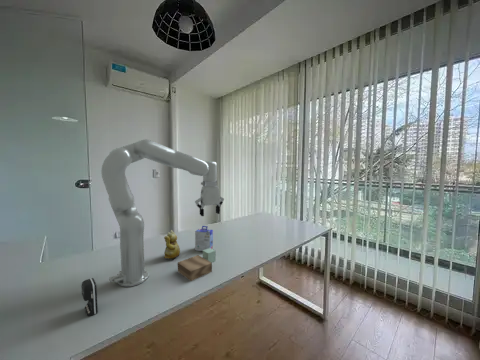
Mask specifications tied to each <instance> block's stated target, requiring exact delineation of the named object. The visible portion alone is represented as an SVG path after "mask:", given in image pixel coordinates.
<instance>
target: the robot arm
mask: <svg viewBox="0 0 480 360" xmlns="http://www.w3.org/2000/svg"><path fill="white" fill-rule="evenodd" d="M144 159H147V160H149V161H153V162H155V163H158V164H161V165H163V166H165V167H166V166H167V167H169V168H173V169H177V170H178V169H179V170H183V171H186V172H188V174H191V175H192V176H199V177H202V181H201V182H200V185H201V186H202V187H201V190H200V197H199V198H198V199H196V200H194V203H195V205H196V206H197V208H198V209H199V215H200V216H201V217H204V216H205V209H204V208H205V206H206V207H207V206H214V205H216V206H215V213H216V214H218V215H219V214H220V213H221V206H222V205H223V202H224V200H225V198H224V197H222V196H220V195H221V193H220V187H219V186H218V179H217V178H218V165H217V162H216V161H210V160H209V161H206V160H205V161H204V160H202V159H200V158H197V157H195V156H192V155H189V154H186V153H183V152H181V151H178V150H176V149H173V148H170V147H169V146H165V145H164V144H161V143H159V142H156V141H154V140H151V139H148V138H144V139H141V140H138V141H136V142H133V143H130V144H127V145H124V146H121V147H116V148H115V149H112V150H111V151H110V152H109V154H108V155H107V156H106V157H105V159H104V160H103V163H102V165H101V170H100V172H101V173H100V174H101V178H102V181H103V184H104V187H105V190H106V193H107V195H108V201H109V204H110V206H111V208H112V209H111V210H112V211H113V214H114V216H115V219H116V222H117V224H118V226H119V243H120V244H119V249H120V250H119V251H120V267H121V268H120V269H121V270H119V271H118V273H117V274H116V275H113V276H110V277H109V278H108V280H109V282H110V283H112V282H114V283H117V284H118V285H119V286H120V287H133V286H137V285H141V284H142V283H144V282H146V281H147V279H148V278H149V272H148V271H146V270H145V248H144V247H145V246H144V245H145V243H144V242H145V241H144V234H145V233H144V231H145V220H144V218H143V216H142V215H141V214H140V212H139V211H138V209H137V206H136V204H135V197H134V194H133V193H132V190H131V188H130V185H129V182H128V179H127V177H126V169H127V168H128V167H129V166H130V165H132V164H133V163H135V162H138V161H141V160H144ZM220 215H221V214H220Z"/></svg>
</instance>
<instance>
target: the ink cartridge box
mask: <svg viewBox="0 0 480 360" xmlns="http://www.w3.org/2000/svg"><path fill="white" fill-rule="evenodd" d="M194 232H195V233H194V234H195V235H194V245H195V246H194V250H195V251H198V252H203V250H205V249H208V248H211V249H213V246H214V245H213V243H214V239H213V238H214V230H213V229H208V226H207V225H202V227H201V229H200V228H198V229H196V230H195V231H194ZM213 250H214V249H213Z"/></svg>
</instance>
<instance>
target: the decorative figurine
mask: <svg viewBox="0 0 480 360" xmlns="http://www.w3.org/2000/svg"><path fill="white" fill-rule="evenodd" d="M163 238H164V241H165V249H164V257H163V258H164V259H165V260H171V261H172V260H174V259H176V258H177V257H179V255H180V254H181V253H180V252H181V248H180V245H179V244H178V241H177V239H178V235H177V234H176V233H175V231H173V229H170V232H169V231H167V235H165V236H164V237H163Z"/></svg>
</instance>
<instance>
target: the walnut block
mask: <svg viewBox="0 0 480 360" xmlns="http://www.w3.org/2000/svg"><path fill="white" fill-rule="evenodd" d="M177 272H178V273H179V274H180V275H182V276H183V277H184V278H186V279H187V280H188V281H190V282H193V281H195V280H197V279H199V278H201V277H204V276H206V275H208V274H210V273H212V272H213V262H212V263H211V262H210V261H208V260H206V259H204V258H203V256H200V255H195V256H192V257H188V258H187V259H186V258H185V259H183V260H180V261H178V262H177Z"/></svg>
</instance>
